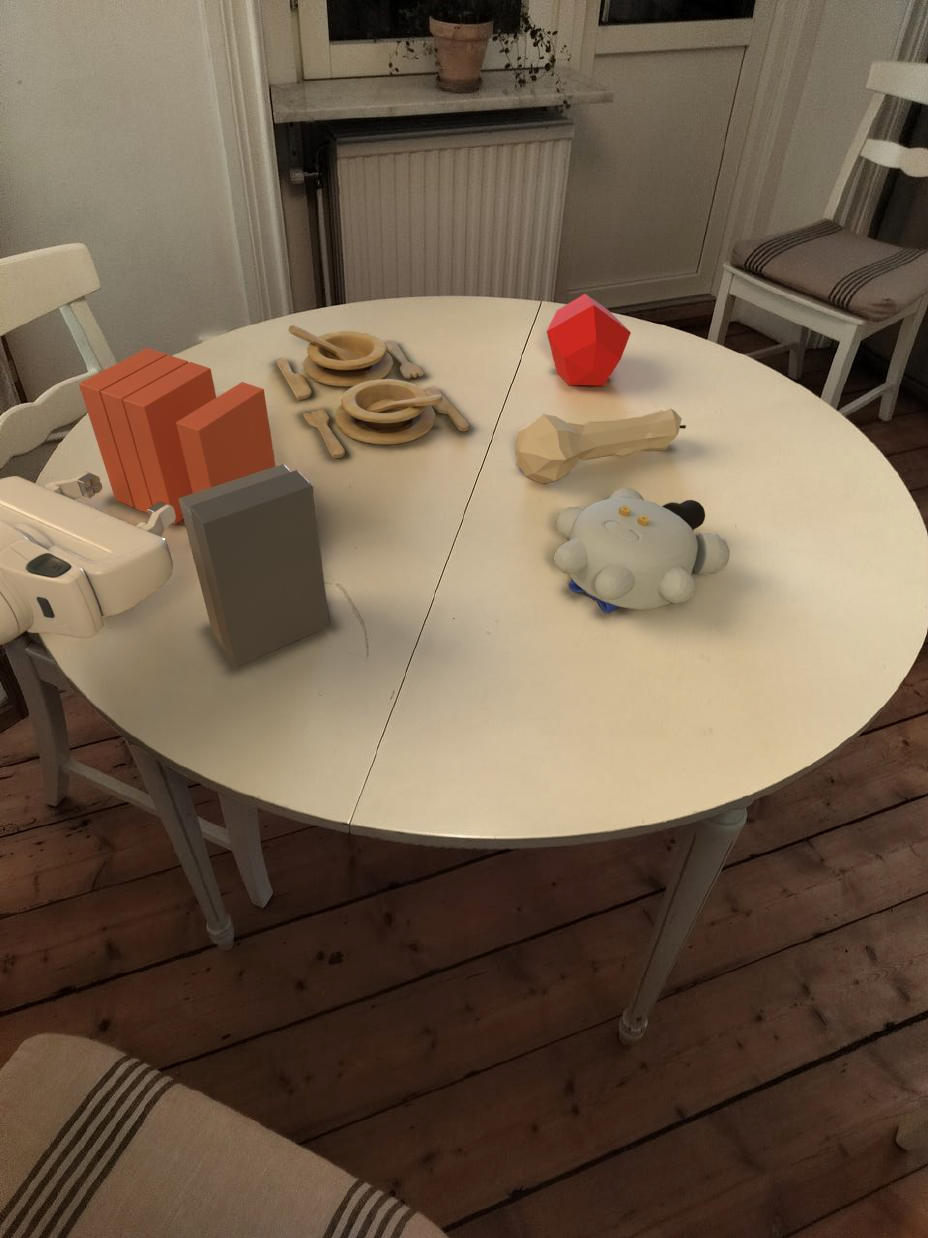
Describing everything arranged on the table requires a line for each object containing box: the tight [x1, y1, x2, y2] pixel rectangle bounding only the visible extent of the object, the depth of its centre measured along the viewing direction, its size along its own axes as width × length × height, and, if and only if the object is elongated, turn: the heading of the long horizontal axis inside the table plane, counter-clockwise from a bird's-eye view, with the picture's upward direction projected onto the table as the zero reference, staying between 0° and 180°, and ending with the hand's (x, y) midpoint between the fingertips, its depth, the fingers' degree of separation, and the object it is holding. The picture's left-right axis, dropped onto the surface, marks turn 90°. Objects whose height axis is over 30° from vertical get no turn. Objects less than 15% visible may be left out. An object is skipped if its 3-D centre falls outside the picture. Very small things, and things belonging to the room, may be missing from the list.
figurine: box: [553, 487, 731, 614], centre depth 89 cm, size 17×8×20 cm
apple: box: [546, 293, 632, 387], centre depth 121 cm, size 12×12×15 cm
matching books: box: [78, 347, 217, 525], centre depth 95 cm, size 10×9×15 cm
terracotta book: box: [176, 381, 276, 493], centre depth 91 cm, size 10×3×15 cm, turn 151°
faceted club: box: [514, 408, 687, 485], centre depth 104 cm, size 9×8×25 cm
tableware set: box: [276, 324, 470, 459], centre depth 116 cm, size 30×20×6 cm, turn 24°
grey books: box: [179, 463, 330, 667], centre depth 77 cm, size 10×6×17 cm, turn 125°
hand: (131, 494), depth 78 cm, fingers open, 8 cm apart
